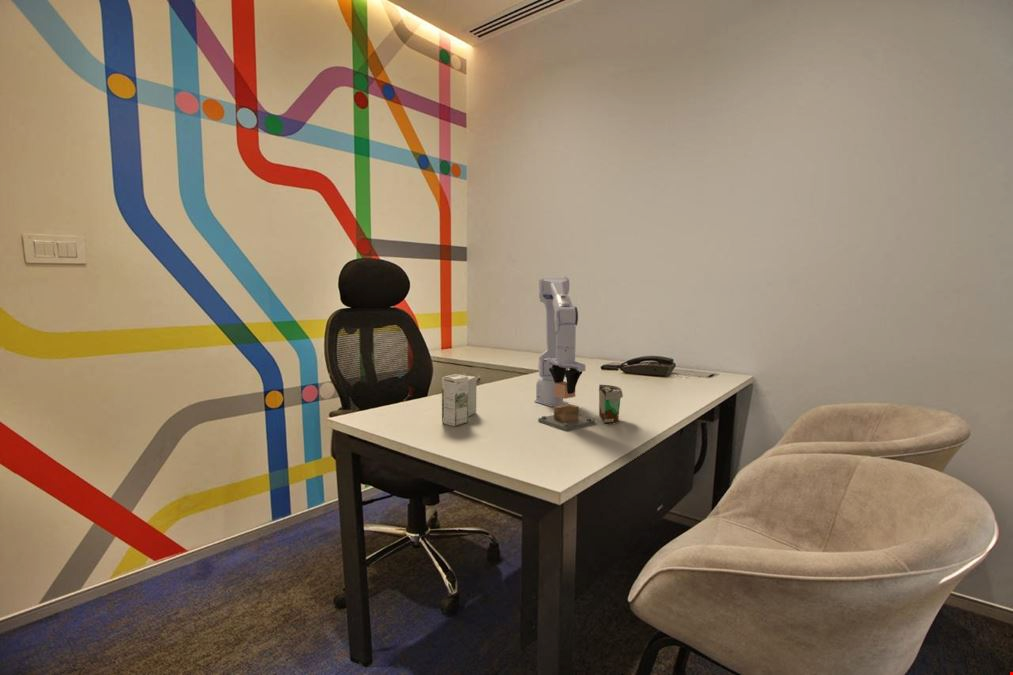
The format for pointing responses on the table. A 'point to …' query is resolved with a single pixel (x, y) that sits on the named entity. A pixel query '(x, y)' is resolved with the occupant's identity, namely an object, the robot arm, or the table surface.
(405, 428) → the table surface
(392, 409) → the table surface
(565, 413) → the walnut brick
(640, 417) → the table surface
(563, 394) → the terracotta block
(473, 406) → the skincare box
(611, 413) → the food container
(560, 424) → the base plate
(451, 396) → the syrup box
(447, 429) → the table surface
